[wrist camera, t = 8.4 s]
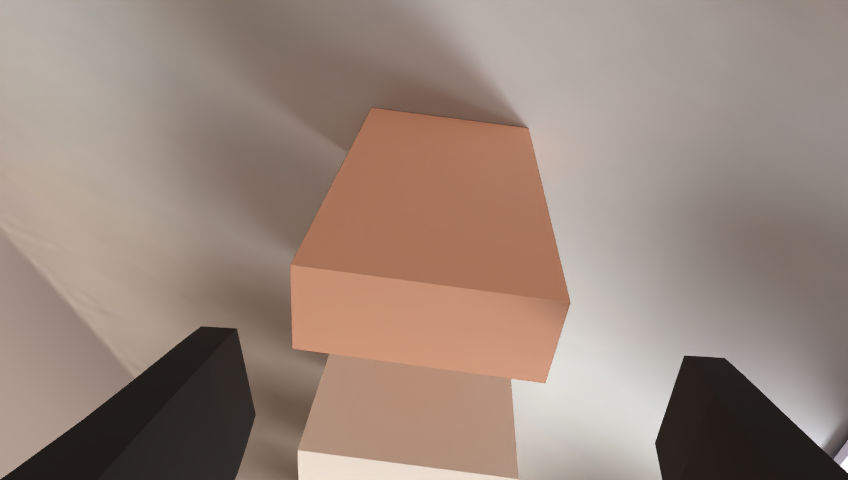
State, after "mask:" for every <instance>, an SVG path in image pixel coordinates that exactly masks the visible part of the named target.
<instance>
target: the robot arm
mask: <svg viewBox="0 0 848 480" xmlns="http://www.w3.org/2000/svg"><path fill="white" fill-rule="evenodd" d="M254 418H255V410H254V405H253V401H252V396H251V392H250V387H249V382H248V378H247V373H246V369H245V364H244V359H243V355H242V350H241V346H240V341H239V337H238V332H237V329H234V328H218V327H200V328H199V329H197V330H196V331H195V332H193V333H192V334H191V335H189V336H188V337H187V338H185V339H184V340H183V341H182V342H180V343H179V344H178V345H177V346H175V347H174V348H173V349H172V350H170V351H169V352H168V353H167V354H165V355H164V356H163V357H162V358H160V359H159V360H158V361H157V362H155V363H154V364H153V365H152V366H150V367H149V368H148V369H147V370H145V371H144V372H143V373H142V374H141V375H139V376H138V377H137V378H136V379H134V380H133V381H132V382H130V383H129V384H128V385H127V386H126V387H124V388H123V389H122V390H120V391H119V392H118V393H117V394H115V395H114V396H113V397H112V398H110V399H109V400H108V401H106V402H105V403H104V404H102V405H101V406H100V407H99V408H97V409H96V410H95V411H94V412H92V413H91V414H90V415H89V416H87V417H86V418H85V419H84V420H82V421H81V422H79V423H78V424H76V425H75V426H74V427H72V428H71V429H70V430H68V431H67V432H65V433H64V434H63V435H61V436H60V437H59V438H57V439H56V440H55V441H53V442H52V443H50V444H49V445H48V446H46V447H45V448H43V449H42V450H41V451H39V452H38V453H37V454H35V455H34V456H32V457H31V458H30V459H28V460H27V461H26V462H24V463H23V464H22V465H20V466H19V467H17V468H16V469H15V470H13V471H12V472H10V473H9V474H8V475H6V476H5V477H3V478H2V479H0V480H235V478H236V475H237V473H238V470H239V467H240V464H241V461H242V458H243V455H244V452H245V448H246V445H247V442H248V439H249V435H250V432H251V428H252V425H253V422H254ZM655 445H656V450H657V455H658V460H659V465H660V470H661V475H662V480H848V440H847V442H846V443H845V444H844V446H843V447H842V448H841V450H840V451H839V452H838V454H837V455H836V456H835V458H834V459H832V458H831V457H830V456H829V455H828V454H827V453H825V452H824V451H823V450H822V449H821V448H820V447H819V446H818V445H817V444H816V443H815V442H814V441H813V440H811V439H810V438H809V437H808V436H807V435H806V434H805V433H804V432H803V431H802V430H801V429H800V428H799V427H798V426H797V425H796V424H795V423H793V422H792V421H791V420H790V419H789V418H788V417H787V416H786V415H785V414H784V413H783V412H782V411H781V410H780V409H779V408H778V407H777V406H776V405H774V404H773V403H772V402H771V401H770V400H769V399H768V398H767V397H766V396H765V395H764V394H763V393H762V392H761V391H760V390H759V389H758V388H757V387H756V386H755V385H753V384H752V383H751V382H750V381H749V380H748V379H747V378H746V377H745V376H744V375H743V374H742V373H741V372H740V371H738V370H737V369H736V368H735V367H734V366H733V365H732V364H731V363H730V362H729V361H727V360H726V359H725V358H714V357H698V356H684V358H683V361H682V364H681V367H680V370H679V373H678V376H677V379H676V382H675V385H674V388H673V391H672V394H671V397H670V400H669V403H668V406H667V409H666V412H665V415H664V418H663V421H662V424H661V427H660V430H659V433H658V436H657V439H656V442H655Z"/></svg>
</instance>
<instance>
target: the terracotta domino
mask: <svg viewBox="0 0 848 480" xmlns="http://www.w3.org/2000/svg"><path fill="white" fill-rule="evenodd" d="M290 271H291V313H292V349H298V350H305V351H313V352H320V353H327V354H335V355H342V356H349V357H357V358H364V359H372V360H379V361H386V362H394V363H401V364H408V365H416V366H423V367H430V368H438V369H445V370H452V371H460V372H467V373H474V374H482V375H489V376H496V377H504V378H511V379H518V380H526V381H533V382H540V383H546V379H547V376H548V373H549V370H550V366H551V363H552V360H553V357H554V354H555V350H556V347H557V344H558V341H559V337H560V334H561V331H562V328H563V325H564V321H565V318H566V315H567V312H568V308H569V305H570V299H569V295H568V291H567V287H566V282H565V278H564V274H563V270H562V266H561V262H560V257H559V253H558V249H557V245H556V241H555V237H554V232H553V228H552V224H551V220H550V216H549V212H548V208H547V203H546V199H545V195H544V191H543V187H542V183H541V178H540V174H539V170H538V166H537V162H536V158H535V153H534V149H533V145H532V141H531V137H530V133H529V128H523V127H516V126H508V125H500V124H493V123H485V122H478V121H470V120H462V119H455V118H447V117H439V116H432V115H424V114H416V113H409V112H401V111H393V110H386V109H378V108H371V110H370V112H369V114H368V116H367V118H366V120H365V121H364V123H363V125H362V127H361V129H360V131H359V133H358V135H357V137H356V139H355V141H354V143H353V145H352V147H351V149H350V150H349V152H348V154H347V156H346V158H345V160H344V162H343V164H342V166H341V168H340V170H339V172H338V174H337V176H336V178H335V179H334V181H333V183H332V185H331V187H330V189H329V191H328V193H327V195H326V197H325V199H324V201H323V203H322V205H321V207H320V208H319V210H318V212H317V214H316V216H315V218H314V220H313V222H312V224H311V226H310V228H309V230H308V232H307V234H306V236H305V238H304V239H303V241H302V243H301V245H300V247H299V249H298V251H297V253H296V255H295V257H294V259H293V261H292V263H291V265H290Z"/></svg>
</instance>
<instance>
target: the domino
mask: <svg viewBox="0 0 848 480" xmlns="http://www.w3.org/2000/svg"><path fill="white" fill-rule="evenodd" d="M297 452H298V478H299V480H518V468H517V454H516V441H515V428H514V414H513V401H512V388H511V378H504V377H496V376H489V375H482V374H474V373H467V372H460V371H452V370H445V369H438V368H430V367H423V366H416V365H408V364H401V363H394V362H386V361H379V360H372V359H364V358H357V357H349V356H342V355H335V354H329V356H328V359H327V362H326V365H325V368H324V371H323V374H322V377H321V380H320V383H319V386H318V389H317V392H316V395H315V398H314V401H313V404H312V407H311V410H310V413H309V417H308V420H307V423H306V426H305V429H304V432H303V435H302V438H301V441H300V444H299V447H298V450H297Z"/></svg>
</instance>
